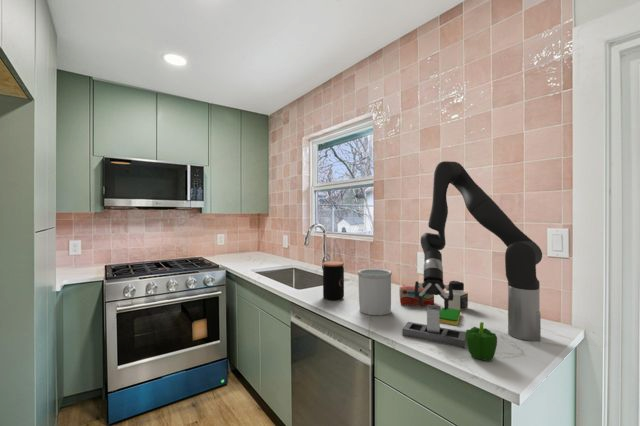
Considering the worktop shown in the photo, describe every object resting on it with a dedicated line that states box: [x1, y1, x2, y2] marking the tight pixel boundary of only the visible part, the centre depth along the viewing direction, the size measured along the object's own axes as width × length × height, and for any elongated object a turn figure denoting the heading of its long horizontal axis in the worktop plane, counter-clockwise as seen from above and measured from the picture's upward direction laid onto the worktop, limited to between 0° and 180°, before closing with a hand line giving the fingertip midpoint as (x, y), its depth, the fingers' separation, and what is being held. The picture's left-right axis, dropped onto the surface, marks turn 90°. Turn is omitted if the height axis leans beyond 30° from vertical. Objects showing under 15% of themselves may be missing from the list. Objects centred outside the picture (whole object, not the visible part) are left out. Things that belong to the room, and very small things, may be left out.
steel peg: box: [426, 304, 441, 335], centre depth 105 cm, size 4×4×10 cm
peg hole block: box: [401, 321, 467, 349], centre depth 105 cm, size 20×8×2 cm, turn 59°
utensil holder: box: [357, 268, 393, 316], centre depth 134 cm, size 15×15×18 cm
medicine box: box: [399, 284, 435, 308], centre depth 144 cm, size 15×8×8 cm, turn 79°
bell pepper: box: [465, 321, 498, 362], centre depth 91 cm, size 8×8×10 cm
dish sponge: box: [440, 307, 461, 326], centre depth 124 cm, size 7×14×2 cm, turn 150°
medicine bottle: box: [444, 280, 469, 312], centre depth 137 cm, size 7×7×12 cm
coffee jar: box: [322, 260, 345, 302], centre depth 154 cm, size 11×11×18 cm
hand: (433, 307), depth 115 cm, fingers open, 8 cm apart
